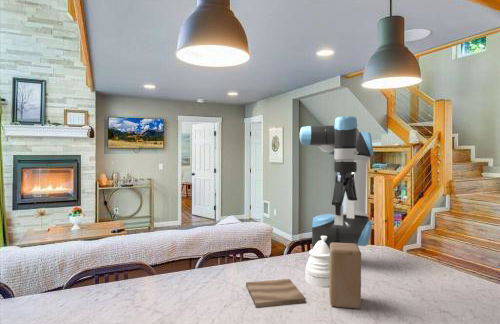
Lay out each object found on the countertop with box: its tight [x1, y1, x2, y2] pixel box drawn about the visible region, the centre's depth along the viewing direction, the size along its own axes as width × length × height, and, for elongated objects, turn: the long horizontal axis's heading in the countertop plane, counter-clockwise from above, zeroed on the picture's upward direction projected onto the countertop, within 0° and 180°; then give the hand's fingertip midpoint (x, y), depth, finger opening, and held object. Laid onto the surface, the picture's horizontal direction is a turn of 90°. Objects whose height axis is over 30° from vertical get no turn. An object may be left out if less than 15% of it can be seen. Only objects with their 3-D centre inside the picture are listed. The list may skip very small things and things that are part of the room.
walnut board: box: [245, 278, 307, 308], centre depth 121 cm, size 18×18×2 cm
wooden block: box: [328, 242, 362, 309], centre depth 114 cm, size 10×10×20 cm
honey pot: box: [304, 236, 330, 288], centre depth 133 cm, size 13×13×18 cm
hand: (344, 221), depth 113 cm, fingers open, 13 cm apart
